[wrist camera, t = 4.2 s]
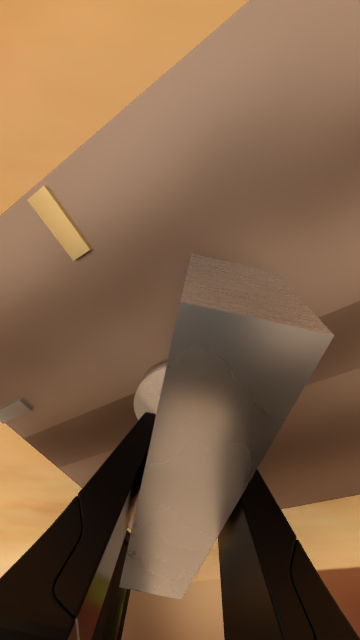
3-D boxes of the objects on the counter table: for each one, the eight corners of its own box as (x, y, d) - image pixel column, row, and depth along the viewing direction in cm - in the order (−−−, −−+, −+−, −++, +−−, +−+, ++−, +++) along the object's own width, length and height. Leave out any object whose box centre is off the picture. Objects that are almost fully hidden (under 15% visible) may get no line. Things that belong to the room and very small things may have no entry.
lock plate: (420, 417, 13) (478, 477, 10) (148, 487, 19) (137, 539, 16) (315, 4, 7) (393, -132, 4) (-49, 292, 12) (-125, 320, 9)
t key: (168, 232, 9) (115, 287, 4) (282, 257, 9) (398, 348, 4) (134, 438, 15) (93, 581, 9) (205, 453, 15) (206, 605, 9)
